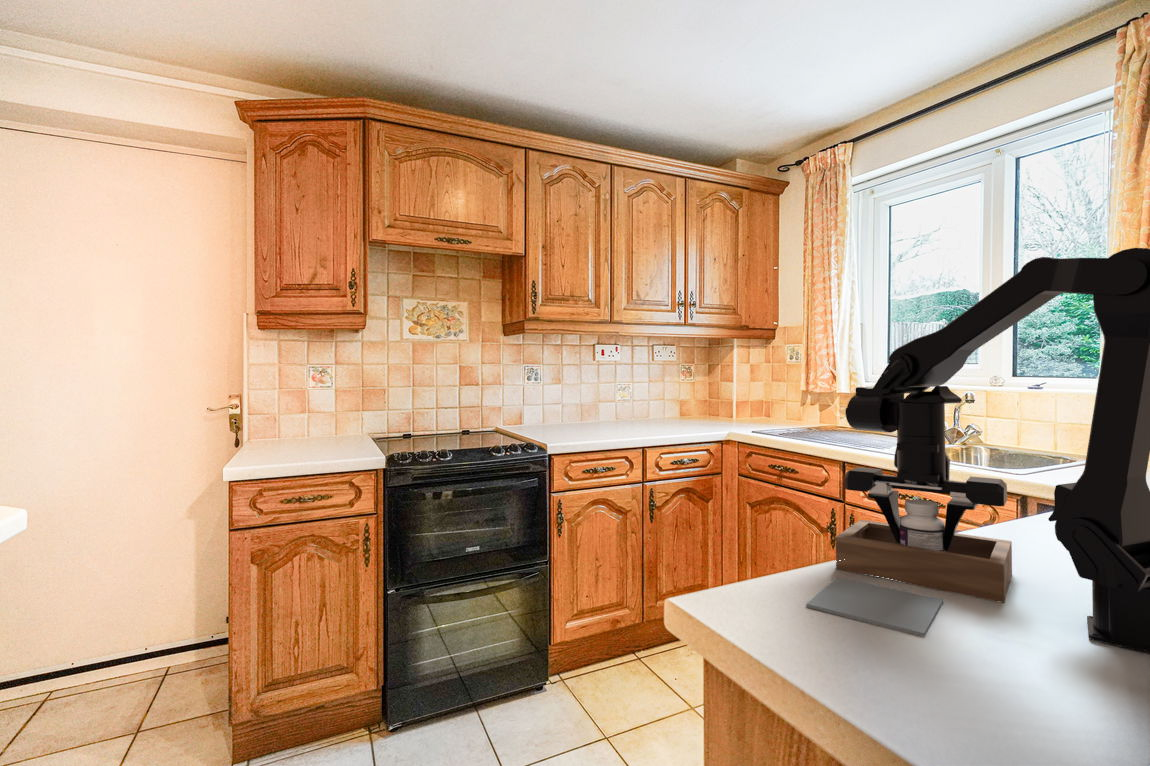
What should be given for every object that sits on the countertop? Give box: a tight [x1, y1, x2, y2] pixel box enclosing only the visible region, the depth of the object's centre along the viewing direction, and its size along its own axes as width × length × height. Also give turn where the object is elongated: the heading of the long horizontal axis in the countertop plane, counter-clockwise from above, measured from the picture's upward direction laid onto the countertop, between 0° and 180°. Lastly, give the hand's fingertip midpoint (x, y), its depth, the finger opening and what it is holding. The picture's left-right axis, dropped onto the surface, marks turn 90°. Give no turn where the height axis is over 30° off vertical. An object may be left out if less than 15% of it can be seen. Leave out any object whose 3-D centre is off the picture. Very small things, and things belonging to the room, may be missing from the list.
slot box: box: [835, 519, 1013, 603], centre depth 77 cm, size 13×19×5 cm
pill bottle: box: [900, 499, 945, 552], centre depth 77 cm, size 5×5×10 cm
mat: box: [805, 576, 944, 638], centre depth 66 cm, size 12×12×1 cm
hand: (922, 546), depth 77 cm, fingers closed on pill bottle, 5 cm apart
